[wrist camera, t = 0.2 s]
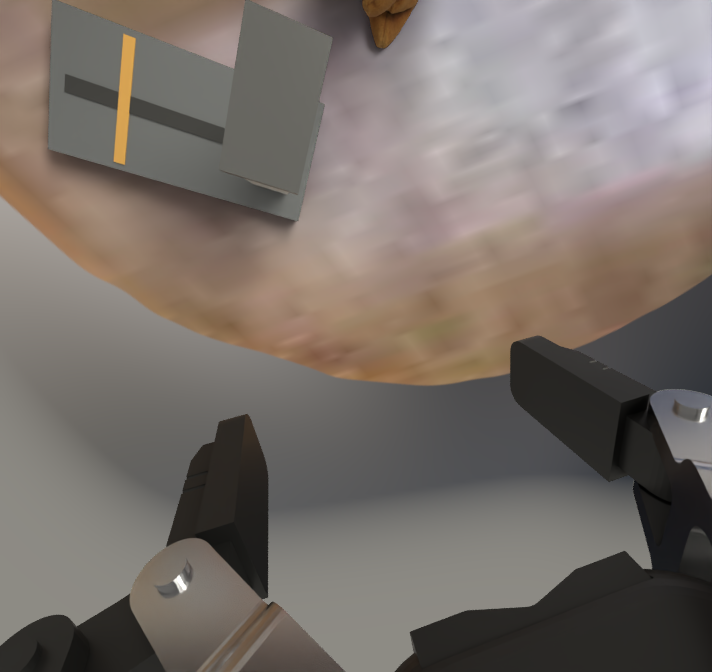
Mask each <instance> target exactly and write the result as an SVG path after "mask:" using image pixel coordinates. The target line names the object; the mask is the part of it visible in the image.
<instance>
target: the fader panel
mask: <svg viewBox="0 0 712 672" xmlns="http://www.w3.org/2000/svg"><path fill="white" fill-rule="evenodd" d="M233 75H234V69H233V68H230V67H227V66H225V65H222V64H220V63H217V62H215V61H212V60H209V59H207V58H204V57H202V56H199V55H197V54H194V53H191V52H189V51H186V50H184V49H181V48H179V47H176V46H173V45H171V44H168V43H166V42H163V41H161V40H158V39H155V38H153V37H150V36H148V35H145V34H142V33H140V32H137V31H135V30H132V29H130V28H127V27H124V26H122V25H119V24H117V23H114V22H112V21H109V20H106V19H104V18H101V17H99V16H96V15H94V14H91V13H88V12H86V11H83V10H81V9H78V8H76V7H73V6H70V5H68V4H65V3H63V2H60V1H57V0H52V19H51V55H50V91H49V127H48V149H49V150H53V151H56V152H60V153H63V154H67V155H70V156H73V157H77V158H80V159H84V160H87V161H91V162H94V163H98V164H101V165H105V166H108V167H112V168H115V169H118V170H122V171H125V172H129V173H132V174H136V175H139V176H143V177H146V178H150V179H153V180H156V181H160V182H163V183H167V184H170V185H174V186H177V187H181V188H184V189H188V190H191V191H194V192H198V193H201V194H205V195H208V196H212V197H215V198H219V199H222V200H226V201H229V202H232V203H236V204H239V205H243V206H246V207H250V208H253V209H257V210H260V211H264V212H267V213H270V214H274V215H277V216H281V217H284V218H288V219H291V220H295V221H298V220H299V215H300V211H301V206H302V202H303V198H304V193H305V189H306V184H307V180H308V176H309V171H310V167H311V162H312V158H313V154H314V149H315V145H316V140H317V136H318V132H319V127H320V123H321V118H322V114H323V110H324V105H325V104H323V103H320V102H319V103H318V108H317V112H316V117H315V121H314V126H313V130H312V135H311V139H310V144H309V148H308V153H307V157H306V162H305V166H304V171H303V175H302V180H301V184H300V189H299V193H298V194H297V195H296V194H293V193H290V192H289V193H288V194H283V193H280V192H277V191H274V190H270V189H267V188H264V187H261V186H257V185H254V184H252V183H250V182H249V181H247V180H246V179H244V178H241V177H238V176H235V175H231V174H228V173H225V172H223V171H221V170H219V164H220V157H221V151H222V145H223V138H224V132H225V126H226V119H227V113H228V107H229V100H230V94H231V88H232V81H233Z"/></svg>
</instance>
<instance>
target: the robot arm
mask: <svg viewBox="0 0 712 672" xmlns="http://www.w3.org/2000/svg"><path fill="white" fill-rule="evenodd" d="M510 387H511V392H512V395H513V397H514V399H515V400H516V402H517V403H518V404H519V405H520V406H521V407H522V408H523V409H524V410H525V411H527V412H528V413H529V414H530V415H531V416H532V417H534V418H535V419H536V420H537V421H538V422H539V423H541V424H542V425H543V426H544V427H545V428H547V429H548V430H549V431H550V432H551V433H552V434H553V435H555V436H556V437H557V438H558V439H559V440H560V441H562V442H563V443H564V444H565V445H566V446H567V447H569V448H570V449H571V450H572V451H573V452H574V453H576V454H577V455H578V456H579V457H580V458H582V459H583V460H584V461H585V462H586V463H587V464H588V465H590V466H591V467H592V468H593V469H594V470H596V471H597V472H598V473H599V474H600V475H601V476H603V477H604V478H605V479H606V480H607V481H608V482H610V481H613V480H616V479H619V478H622V477H624V476H627V475H629V476H630V477H632V478H633V479H634V483H633V494H634V498H635V501H636V505H637V509H638V512H639V516H640V520H641V523H642V527H643V531H644V534H645V538H646V542H647V546H648V549H649V553H650V557H651V563H652V569H642V568H641V567H640V566H639V565H638V564H637V563H636V562H635V561H634V560H633V559H632V558H631V557H630V556H629V554H628V553H627V552H625V551H623V552H620V553H618V554H615V555H613V556H610V557H607V558H605V559H602V560H599V561H597V562H594V563H592V564H589V565H586V566H583V567H581V568H578V569H576V570H574V571H573V572H572V573H571V574H570V575H569V576H568V577H566V578H565V579H564V580H563V581H562V582H561V583H559V584H558V585H557V586H556V587H555V588H554V589H553V590H551V591H550V592H549V593H548V594H547V595H546V596H545V597H544V598H542V599H541V600H540V601H539V602H538V603H536V604H535V605H533V606H530V607H520V608H502V609H486V610H468V611H464V612H461V613H459V614H456V615H453V616H451V617H448V618H445V619H443V620H440V621H437V622H435V623H432V624H430V625H427V626H424V627H421V628H419V629H416V630H413V631H411V632H410V636H411V641H412V646H413V651H414V654H412V655H411V656H410V657H409V658H408V659H407V660H405V661H404V662H403V663H402V664H401V665H400V666H399V667H398V668H397V670H396V671H395V672H712V396H709V395H706V394H703V393H699V392H695V391H690V390H682V389H681V390H680V389H668V390H662V391H658V392H656V391H654V390H652V389H650V388H649V387H647V386H645V385H643V384H641V383H639V382H637V381H635V380H633V379H631V378H629V377H627V376H625V375H623V374H622V373H620V372H618V371H616V370H614V369H612V368H611V369H609V368H608V367H607V366H606V365H604V364H602V363H600V362H598V361H597V362H595V360H594V359H593V358H591V357H589V356H587V355H585V354H583V353H581V352H579V351H575V350H572V349H568V348H564V347H561V346H559V345H557V344H555V343H553V342H551V341H549V340H547V339H546V338H544V337H542V336H534V337H530V338H527V339H523V340H519V341H516V342H514V343H513V344H512V346H511V351H510ZM267 597H268V471H267V465H266V461H265V457H264V454H263V452H262V449H261V446H260V443H259V441H258V438H257V435H256V432H255V430H254V427H253V424H252V421H251V419H250V417H249V415H248V414H245V415H241V416H238V417H234V418H230V419H227V420H223V421H220V422H219V424H218V429H217V433H216V438H215V442H212V443H209V444H205V445H203V446H202V447H201V448H200V450H199V451H198V453H197V454H196V455H195V456H194V458H193V459H192V460H191V463H190V466H189V470H188V473H187V480H185V484H184V487H183V494H181V498H180V501H179V504H178V508H177V511H176V514H175V518H174V521H173V525H172V528H171V532H170V535H169V538H168V542H167V546H166V548H164V549H163V550H162V551H160V552H159V553H158V554H156V555H155V556H154V557H153V558H152V559H151V560H150V561H149V562H148V563H147V564H146V565H145V566H144V568H143V569H142V570H141V572H140V573H139V575H138V577H137V578H136V580H135V582H134V584H133V586H132V590H131V593H130V594H129V595H127V596H126V597H124V598H123V599H121V600H120V601H118V602H117V603H115V604H113V605H112V606H110V607H108V608H107V609H105V610H104V611H102V612H100V613H99V614H97V615H95V616H94V617H92V618H90V619H89V620H87V621H85V622H84V623H82V624H80V625H79V626H77V627H76V625H75V624H74V623H73V622H72V621H71V620H70V619H69V618H68V617H66V616H64V615H52V616H48V617H44V618H42V619H39V620H37V621H35V622H33V623H31V624H29V625H28V626H26V627H24V628H23V629H21V630H20V631H18V632H17V633H16V634H14V635H13V636H12V637H10V638H9V639H8V640H7V641H5V643H3V644H2V645H1V646H0V672H345V671H344V670H343V669H342V668H341V667H340V666H339V665H338V664H337V663H336V662H335V661H334V660H333V659H332V658H331V657H330V656H329V655H328V654H327V652H325V650H324V649H323V648H321V646H319V644H318V643H317V642H316V641H315V640H314V639H313V638H312V637H310V635H309V634H308V633H307V632H306V631H305V630H303V628H302V627H301V626H300V625H299V624H298V623H297V622H296V621H295V620H294V619H293V618H292V617H291V616H290V615H289V614H288V613H287V612H286V611H285V610H284V609H283V608H282V607H280V606H279V605H278V604H276V603H275V602H271V603H270V604H269V605H268V604H266V603H265V602H264V601H263V600H262V599H265V598H267Z"/></svg>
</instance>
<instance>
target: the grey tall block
mask: <svg viewBox="0 0 712 672" xmlns="http://www.w3.org/2000/svg"><path fill="white" fill-rule="evenodd" d="M332 40H333V37H331V36H328V35H326V34H324V33H322V32H319V31H317V30H315V29H313V28H310V27H308V26H306V25H304V24H301V23H299V22H297V21H295V20H292V19H290V18H288V17H286V16H283V15H281V14H279V13H277V12H274V11H272V10H270V9H268V8H265V7H263V6H261V5H259V4H256V3H254V2H252V1H250V0H245V5H244V12H243V18H242V24H241V31H240V37H239V43H238V50H237V56H236V62H235V69H234V75H233V81H232V88H231V94H230V100H229V107H228V113H227V119H226V126H225V132H224V138H223V145H222V151H221V157H220V164H219V170H221V171H223V172H225V173H228V174H231V175H235V176H238V177H241V178H244V179H246V180H247V181H249V182H250V183H252V184H254V185H257V186H261V187H264V188H267V189H270V190H274V191H277V192H280V193H283V194H288V193H289V192H290V193H293V194H296V195H297V194H298V193H299V189H300V184H301V180H302V175H303V171H304V166H305V162H306V157H307V153H308V148H309V144H310V139H311V135H312V130H313V126H314V121H315V117H316V112H317V108H318V103H319V99H320V94H321V90H322V85H323V81H324V76H325V72H326V67H327V63H328V58H329V54H330V49H331V45H332Z"/></svg>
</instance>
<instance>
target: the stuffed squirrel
mask: <svg viewBox="0 0 712 672" xmlns="http://www.w3.org/2000/svg"><path fill="white" fill-rule="evenodd" d="M417 2H418V0H362V6H363V9H364V10H365V12H366V14H367V16H368V17H369V20H370V25H371V30H372V34H373V37H374V41H375V44H376V46H377V47H378V48H386V47H387V46H389V44H390V43H391V42H392V41H393V40H394V39H395V37H396V36H397V35H398V33H399V32H400V30H401V29H402V27H403V26H404V24H405V22H406V21H407V19H408V17H409V16H410V14H411V12H412V10H413V9H414V7H415V6H416V4H417Z"/></svg>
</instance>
